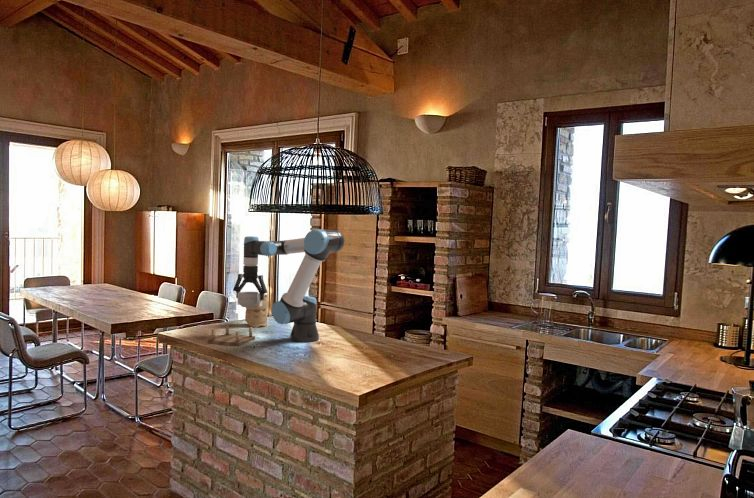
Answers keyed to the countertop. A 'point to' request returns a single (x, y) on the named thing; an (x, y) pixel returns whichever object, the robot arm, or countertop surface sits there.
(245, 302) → the teacup
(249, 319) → the container
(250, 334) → the rack
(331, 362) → the countertop surface
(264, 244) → the robot arm
